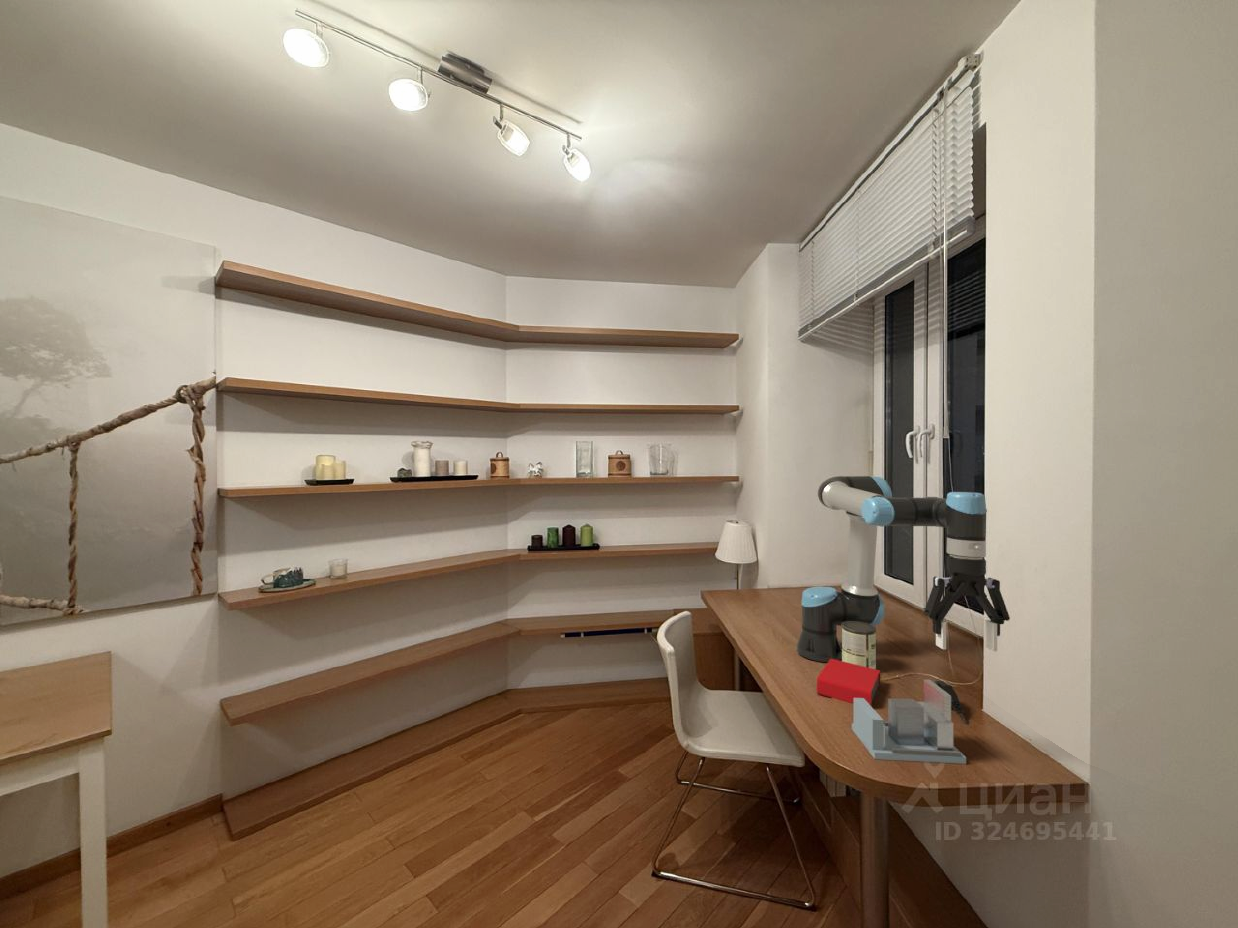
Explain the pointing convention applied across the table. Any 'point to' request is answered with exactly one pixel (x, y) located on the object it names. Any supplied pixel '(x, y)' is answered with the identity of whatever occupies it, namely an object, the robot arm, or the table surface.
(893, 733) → the steel block
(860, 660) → the coffee can
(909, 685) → the table surface
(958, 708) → the power plug
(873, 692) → the red device housing
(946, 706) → the sliding jaw
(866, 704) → the vise base
